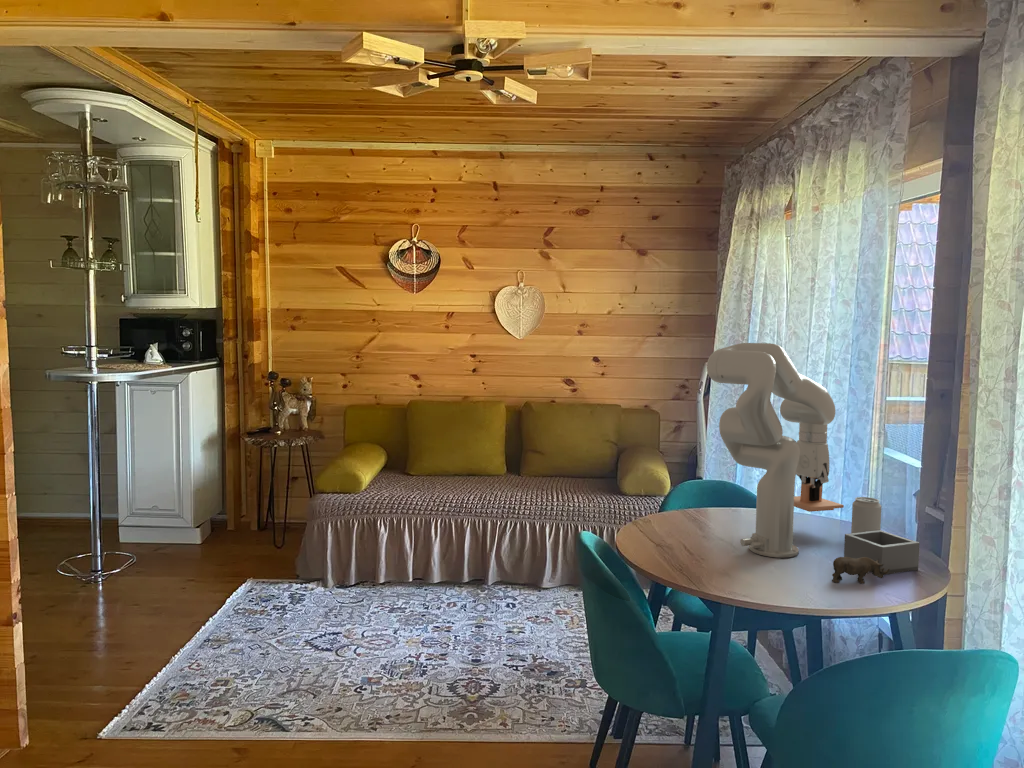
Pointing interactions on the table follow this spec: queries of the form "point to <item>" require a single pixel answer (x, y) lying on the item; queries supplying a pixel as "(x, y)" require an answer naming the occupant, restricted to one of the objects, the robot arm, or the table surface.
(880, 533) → the tub
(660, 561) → the table surface
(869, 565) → the rhino figurine
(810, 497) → the robot arm
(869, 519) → the can
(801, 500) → the lid
